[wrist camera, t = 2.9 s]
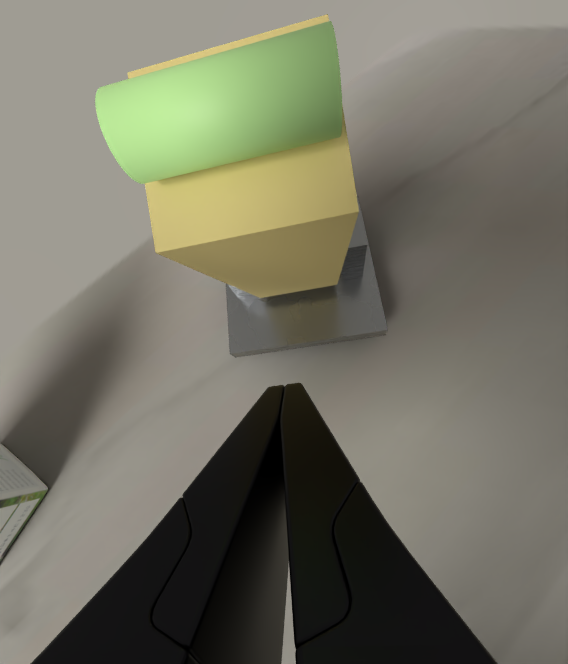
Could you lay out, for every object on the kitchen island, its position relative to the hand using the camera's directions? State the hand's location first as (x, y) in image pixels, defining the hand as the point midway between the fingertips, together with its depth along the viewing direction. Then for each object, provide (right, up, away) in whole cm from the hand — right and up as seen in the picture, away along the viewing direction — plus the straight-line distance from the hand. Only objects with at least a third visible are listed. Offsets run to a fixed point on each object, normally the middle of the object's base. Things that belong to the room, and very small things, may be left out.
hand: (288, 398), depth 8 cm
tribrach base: (+1, +5, +13) cm, 14 cm away
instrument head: (0, +6, +9) cm, 11 cm away
